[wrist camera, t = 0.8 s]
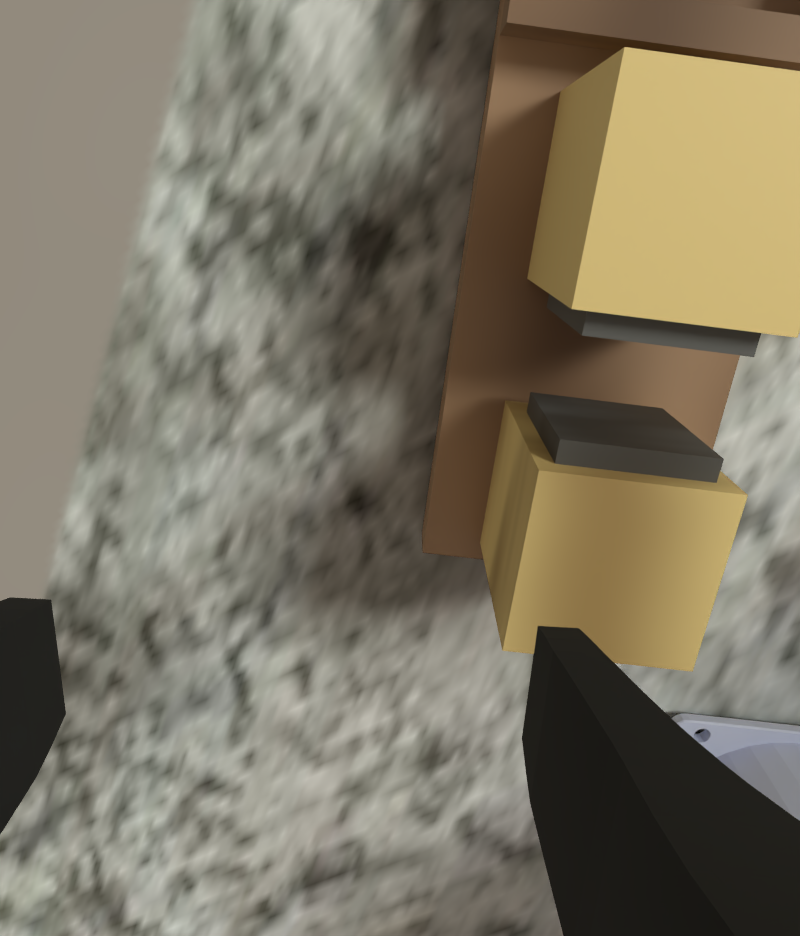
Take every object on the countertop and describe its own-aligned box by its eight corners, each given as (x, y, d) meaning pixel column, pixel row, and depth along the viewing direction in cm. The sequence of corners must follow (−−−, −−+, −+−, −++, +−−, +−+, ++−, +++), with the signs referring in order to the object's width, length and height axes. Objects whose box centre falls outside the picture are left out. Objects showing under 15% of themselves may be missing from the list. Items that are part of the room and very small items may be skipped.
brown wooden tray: (912, -346, 14) (1261, -723, 8) (660, 561, 21) (755, 699, 15) (558, -403, 14) (666, -830, 8) (421, 533, 21) (427, 662, 15)
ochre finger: (739, 116, 16) (878, 82, 11) (686, 320, 18) (788, 365, 13) (560, 91, 16) (624, 46, 11) (523, 299, 17) (566, 337, 13)
